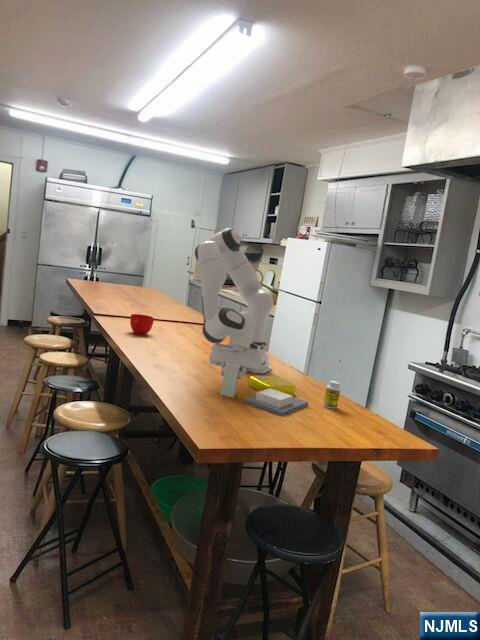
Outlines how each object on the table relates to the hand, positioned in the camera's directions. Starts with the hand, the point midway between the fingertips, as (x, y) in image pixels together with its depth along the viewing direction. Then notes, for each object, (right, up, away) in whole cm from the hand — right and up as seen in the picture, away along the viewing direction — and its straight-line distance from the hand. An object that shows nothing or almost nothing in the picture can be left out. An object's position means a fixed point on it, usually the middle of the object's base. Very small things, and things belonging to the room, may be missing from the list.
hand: (230, 376), depth 188 cm
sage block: (-1, -7, +2) cm, 7 cm away
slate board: (+17, -10, 0) cm, 20 cm away
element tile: (+17, -8, +20) cm, 27 cm away
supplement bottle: (+39, -13, +9) cm, 42 cm away
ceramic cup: (-53, +13, +91) cm, 107 cm away
